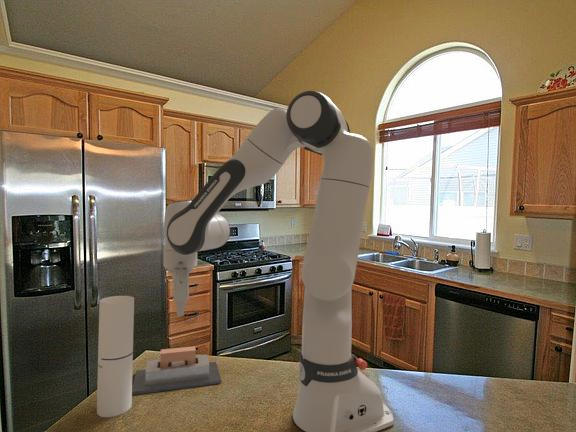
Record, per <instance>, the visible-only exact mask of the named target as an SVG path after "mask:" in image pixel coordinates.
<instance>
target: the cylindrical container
mask: <svg viewBox="0 0 576 432" xmlns="http://www.w3.org/2000/svg"><path fill="white" fill-rule="evenodd" d="M98 305H99V307H98V309H99V311H98V343H97V344H98V349H97V382H96V383H97V384H96V385H97V388H96V389H97V390H96V391H97V392H96V414H97V416H99V417H100V418H114V417H118V416H121V415H123V414H125V413H126V412H128V411H129V410H131V408H132V405H133V404H132V401H133V395H132V387H133V364H134V363H133V362H134V328H135V327H134V326H135V325H134V324H135V323H134V322H135V297H134V296H131V295H114V296H108V297H107V296H106V297H103V298H101V299H100V300H99V304H98Z"/></svg>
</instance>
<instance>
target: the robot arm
mask: <svg viewBox="0 0 576 432" xmlns="http://www.w3.org/2000/svg"><path fill="white" fill-rule="evenodd" d="M342 113H343V112H341V110H340V109H339V108H338V107H337V105H335V104H334V103H333V101H332V100H331V98H329V97H328V96H327V95H325V94H323V93H322V92H319V91H316V90H305V91H302V92H301V93H299V94H297V95H296V96H295V97H294V98H293V99H292V100H291V101H290V102H289V104H288V106H287V109H286V108H282V107H275V108H273V109H271V110H270V111H269V112H268V113H266V114H265V116H263V118H262V119H260V121H259V122H258V123H257V124H256V126H255V127H254V128H253V129H252V130H251V132H250V133H249V135H248V136H247V137H246V139H245V140H244V142H243V143H242V144H241V145H240V147H239V148H238V149H237V150H236V152H235V153H234V154H233V155H232V156H231V157H230V158H229V159H228V160H227V161H226V162H224V164H222V165H221V166H220V167H219V168H218V169H217V170H216V171H215V173H214V174H213V175H212V176H211V177H210V178H209V180H207V182H206V183H205V185H203V186H202V188H201V189H200V190H199V191H198V193H196V195H195V196H194V198H193V199H192V200H189V199H188V200H187V199H186V200H176V201H173V202H170V203H168V205H167V207H166V209H165V213H164V219H163V220H164V221H163V236H164V240H165V241H164V247H163V268H166V269H167V271H168V274H170V275H171V279H172V280H171V281H172V286H173V287H172V291H173V295H172V297H173V299H172V300H173V302H174V303H175V304H176V316H177V317H183V316H184V315H185V306H186V302H188V301H189V297H190V276H189V275H190V274H191V273H193V268H194V267H197V266H198V252H201V251H203V252H204V251H209V250H214V249H218V248H220V247H223V246H224V245H226V244H227V242H228V241H229V239H230V236H231V227H230V223H229V221H228V219H227V218H226V217H225V216H223V215H221V214H218V213H219V212H220V210H222V208H223V207H224V206H225V204H226V203H227V202H229V199H231V198H232V197H233V196H235V195H237V193H239V192H242V191H244V190H247V189H249V188H255V187H258V186H262V185H265V184H267V183H268V182H269V181H270V180H271V179H273V177H275V176H276V175H277V173H278V172H279V171H280V169H281V168H282V167H283V165H284V164H285V163H286V161H287V160H288V159H289V157H290V155H292V153H294V151H295V150H297V149H300V148H303V149H304V150H305V151H308V152H312V153H314V154H316V155H320V156H322V158H323V162H322V163H323V165H322V169H321V170H322V171H321V176H320V180H319V185H318V190H317V197H316V199H315V200H316V202H315V207H314V212H313V216H312V221H311V225H310V230H309V232H308V238H307V242H306V247H305V252H304V256H303V261H302V265H301V270H300V271H301V280H302V283H303V285H304V293H303V294H304V295H303V297H304V298H303V308H302V309H303V311H302V322H301V323H302V325H301V327H302V330H301V333H302V334H301V351H300V352H299V359H298V360H299V363H298V378H299V386H298V392H297V398H296V402H295V405H294V409H293V412H292V418H293V422H294V423H295V424H296V426H297V427H298V428H299V429H301V430H302V431H304V432H379V431H381V430H383V429H386V428H389V427H391V426H393V425H394V423H395V421H394V419H395V418H394V415H393V413H392V411H391V410H390V409H389V407H388V406H387V405H386V404H385V402H383V400H384V399H383V396H382V394H381V391H380V389H379V387H378V386H377V385H376V384H375V383H374V382H373V381H372V380H371V379H369V378H368V377H367V376H366V375H365V374H364V373H362V372H361V371H365V370H366V368H368V362H367V361H366V360H363V359H362V358H361V357H359V358H358V356H356V355H355V354H353V353H352V336H353V335H352V327H353V316H352V315H353V314H352V313H353V309H352V307H353V305H352V303H353V302H352V297H353V296H352V293H353V292H352V289H353V288H352V287H353V285H354V280H355V277H356V276H355V275H356V272H357V271H356V270H357V265H358V258H359V252H360V247H361V246H360V245H361V239H362V231H363V225H364V224H363V223H364V219H365V214H366V207H367V203H368V199H369V195H370V194H369V193H370V189H371V183H372V175H373V163H374V161H373V160H374V157H373V155H374V151H373V150H374V149H373V145H372V143H371V142H370V141H369V140H368V139H367V138H366V137H364V136H363V135H360V134H357V133H351V130H350V126H349V124H348V122H347V120H346V119H345V117H344V116H343V114H342Z"/></svg>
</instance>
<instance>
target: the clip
mask: <svg viewBox="0 0 576 432" xmlns="http://www.w3.org/2000/svg"><path fill="white" fill-rule="evenodd" d="M196 351H197V349H196V346H194V345H193V346H185V347H183V346H182V347H175V348H165V349H164V348H163V349H160V358H159V359H160V368H162V367H168V362H177V361H186V360H187V365H189V364H195V360H196V356H197V355H196V354H197V353H196Z"/></svg>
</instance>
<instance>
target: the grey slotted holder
mask: <svg viewBox="0 0 576 432" xmlns="http://www.w3.org/2000/svg"><path fill="white" fill-rule="evenodd" d="M220 374H221V373H220V370H219V367H218V364H217V361H213V362H212V361H211V362H210V361H209V357H208V354H200V355H196V360H195V364H189V365H187V360H186V361H177V362H168V367H162V368H160V358H159V359H152V360H149V359H148V360H147V362H146V368H145V369H139V370H136V371H135V376H134V379H133V382H132V396H136V395H137V396H138V395H143V394H151V393H158V392H167V391H174V390H182V389H187V388H188V389H189V388H196V387H203V386H204V387H205V386H211V385H212V386H213V385H218V384H219V385H220V384H222V377H221V375H220Z"/></svg>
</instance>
